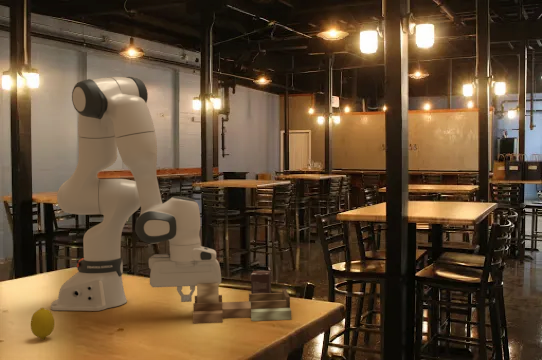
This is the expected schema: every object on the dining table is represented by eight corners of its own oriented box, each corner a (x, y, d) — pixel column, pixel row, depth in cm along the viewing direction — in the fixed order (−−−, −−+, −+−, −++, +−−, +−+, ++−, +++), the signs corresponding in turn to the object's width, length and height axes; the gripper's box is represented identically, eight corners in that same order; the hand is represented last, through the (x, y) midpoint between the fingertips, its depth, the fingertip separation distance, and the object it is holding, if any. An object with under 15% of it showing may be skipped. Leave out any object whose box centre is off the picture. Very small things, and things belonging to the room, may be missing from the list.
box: (271, 292, 191) (271, 270, 191) (269, 296, 185) (269, 274, 185) (253, 292, 192) (253, 270, 191) (251, 296, 186) (250, 274, 185)
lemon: (35, 336, 146) (34, 305, 145) (57, 335, 146) (56, 304, 146) (27, 343, 140) (27, 311, 140) (51, 342, 141) (50, 310, 140)
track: (193, 323, 156) (192, 303, 155) (195, 308, 171) (195, 290, 171) (291, 319, 158) (291, 299, 158) (284, 304, 174) (284, 286, 174)
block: (197, 309, 161) (196, 284, 160) (198, 304, 167) (197, 280, 166) (218, 308, 161) (218, 283, 161) (218, 303, 167) (218, 279, 167)
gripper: (147, 256, 159) (148, 305, 159) (220, 253, 160) (221, 302, 161) (149, 252, 165) (150, 300, 165) (220, 250, 167) (221, 297, 167)
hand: (186, 301), depth 163 cm, fingers closed
